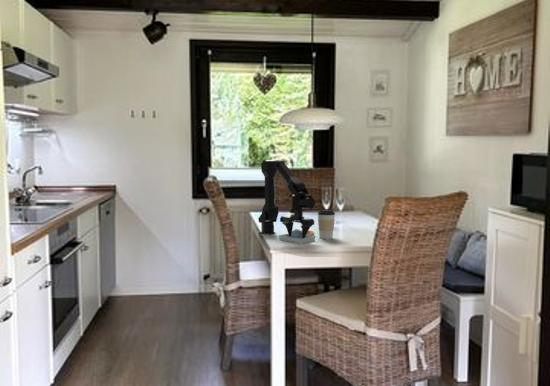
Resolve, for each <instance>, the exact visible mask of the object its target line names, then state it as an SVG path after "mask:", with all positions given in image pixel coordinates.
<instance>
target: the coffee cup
mask: <svg viewBox="0 0 550 386" xmlns="http://www.w3.org/2000/svg"><path fill="white" fill-rule="evenodd" d="M317 217H318V218H317V221H318V223H317V225H318V235H319V239H322V240H331V239H333V236H334V230H335V229H334V228H335V217H336V213H335V211H334V210H333V209H329V208H323V209H322V208H320V209H319V211H317Z"/></svg>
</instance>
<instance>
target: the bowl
mask: <svg viewBox="0 0 550 386" xmlns="http://www.w3.org/2000/svg"><path fill="white" fill-rule="evenodd" d="M299 230H300V231H301V232H302V229H299ZM306 235H309V236H315V231H314V230H310V229H309V230H308V232H307V234H306Z"/></svg>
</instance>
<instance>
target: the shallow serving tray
mask: <svg viewBox="0 0 550 386" xmlns="http://www.w3.org/2000/svg"><path fill="white" fill-rule="evenodd" d="M279 239H280V241H285V242H291V243H295V244H296V243H297V244H300V245H301V244H305V243H311V242H315V241H316V236H315V235H314V236H309V235H306V236H305V238H301V239H298V238H293V237H292V236H289V234H288V233H284V234H278V240H279Z"/></svg>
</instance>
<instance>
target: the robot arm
mask: <svg viewBox="0 0 550 386" xmlns="http://www.w3.org/2000/svg"><path fill="white" fill-rule="evenodd" d="M260 169H261V173H262V175H263V177H264V205H263V207H262V208H261V210H262V211H261V214H260V215H259V217H258V218H257V219H258V223H261V230H260V231H259V234H261V235H274V234H276V232H275V224H274V223H277V220H278V217H279V206H277V205H276V203H275V175H276V174H277V171H278V172H279V174H281V177H283V179H284V181H286V183H287V189H288V190H289V192H290V194H289V195H288V198H291V201H290V202H291V203H290V204H291V207H290V208H289V210H288V211H289V212H287V213H285V214H284V215H282V216H280V218H279V222H281V224H283V225H284V226H285V227H286V230H287V234H289V236H291V233H292V231H293V230H294V229H293V228H294V223H298V224H300V227H301V230H302V238H305V236H306V234H307V232H308V230H309V231H310V228H311V227H312V226H314V225H315V220H314V219H313V218H305V216H303V215H304V213H303V212H305V209H307V210H308V209H309V210H311V209H313V208H315V205H316V201H315V199H314V197H313V195H312V194H310V193H309V191H308V189H307V188H306V184H305V182H304V181H302V180H301V179H300V178H298V177H296V176H295V175H294V173H293V172H292V171H291V169H290V168H289V167H288V166H287V164H286V163H285V161H284V160H283V159H276V160H274V159H264V160H262V162H261V163H260Z"/></svg>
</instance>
